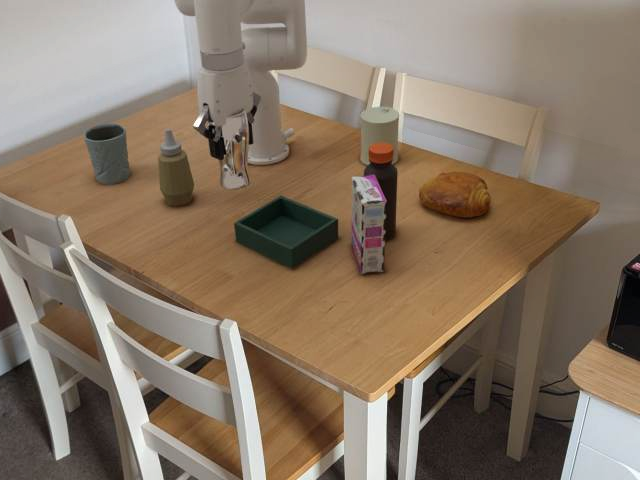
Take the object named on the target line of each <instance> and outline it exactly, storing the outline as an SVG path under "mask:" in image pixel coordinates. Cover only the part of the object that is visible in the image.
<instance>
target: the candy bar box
mask: <svg viewBox="0 0 640 480" xmlns="http://www.w3.org/2000/svg"><path fill="white" fill-rule="evenodd" d="M386 204H387V201H386V199H385V196H384V194H383V192H382V190H381V188H380V186H379V183H378V181H377V179H376V176H375V175H365V176H364V175H358V176H357V175H355V176H351V237H350V238H351V239H350V240H351V242H350V243H351V244H350V245H351V249H352V251H353V255H354V257H355V260H356V263H357V266H358V269H359V272H360V275H369V274H379V273H384V272H385V251H386V249H385V248H386V240H385V229H386Z"/></svg>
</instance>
